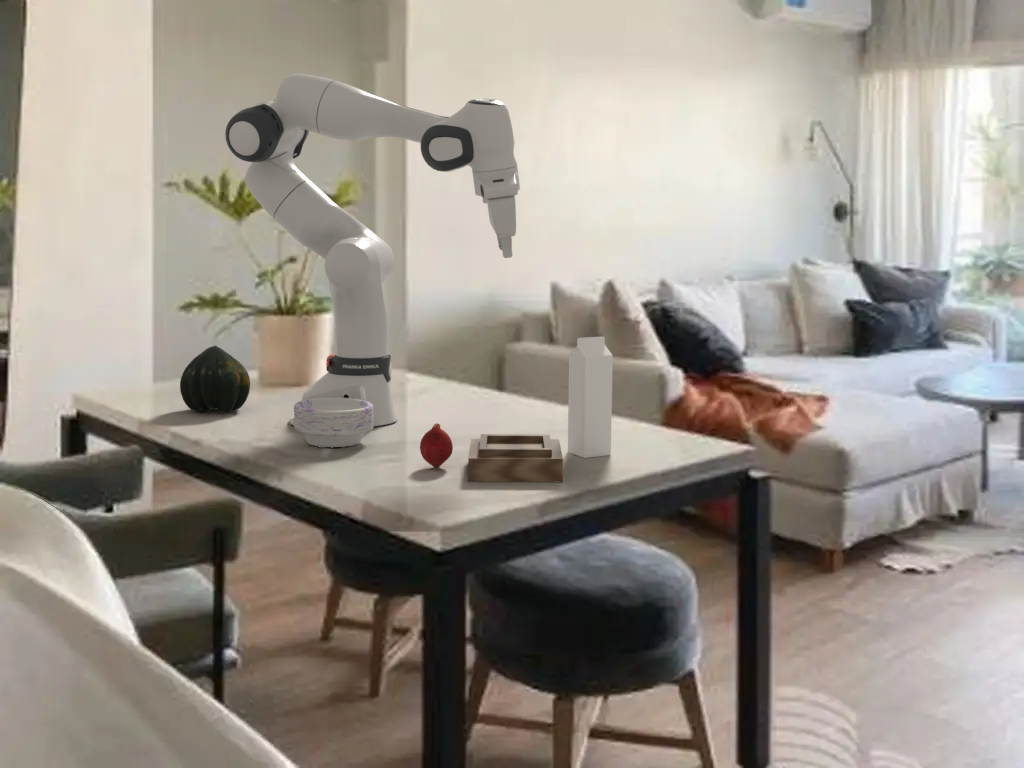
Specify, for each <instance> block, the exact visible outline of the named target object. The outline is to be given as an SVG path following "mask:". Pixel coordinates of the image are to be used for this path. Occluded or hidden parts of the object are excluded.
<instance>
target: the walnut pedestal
mask: <svg viewBox="0 0 1024 768" xmlns="http://www.w3.org/2000/svg"><path fill="white" fill-rule="evenodd" d="M468 451H469V452H468V457H467V461H468V463H467V464H468V465H467V466H468V467H467V468H468V469H467V470H468V471H467V472H468V473H467V475H468V476H467V477H468V479H467V480H468V482H482V483H483V482H488V483H489V482H492V483H493V482H494V483H495V482H500V483H501V482H505V483H506V482H507V483H509V482H510V483H511V482H513V483H515V482H516V483H517V482H519V483H520V482H521V483H523V482H524V483H526V482H527V483H529V482H530V483H531V482H532V483H533V482H534V483H539V482H541V483H549V482H550V483H563V480H564V479H563V478H564V477H563V475H564V472H563V471H564V469H563V468H564V457H563V453H562V447H561V444H560V439H559V438H551V436H550V434H519V433H518V434H515V433H514V434H513V433H512V434H503V433H501V434H496V433H495V434H493V433H492V434H491V433H490V434H486V433H485V434H484V433H483V434H482V433H481V434H480V438H471V439H470V444H469V450H468Z"/></svg>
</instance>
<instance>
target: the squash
mask: <svg viewBox="0 0 1024 768" xmlns="http://www.w3.org/2000/svg"><path fill="white" fill-rule="evenodd" d="M250 379H251V378H250V375H249V373H248V370H247V369H246V367H245V366H244V365H243V364H242V363H241V362H240V361H239V360H237V359H236V358H234V357H233V355H231V354H229V353H228V352H227V351H225V350H224V349H223V348H221V347H219V346H217V345H212V346H209V347H208V348H206V349H205V350H203V351H201V353H199V354H197V356H195V357H194V358H193V359H192V360H191V361H190V362H189V363H188V364H187V366H186V367H185V369H184V371H183V372H182V374H181V377H180V381H179V391H180V394H181V397H182V401H183V402H184V404H185V405H186V407H188V408H189V409H190V410H191V411H193V412H196V413H204V412H205V413H206V412H207V411H209V410H217V412H219V413H220V412H221V413H220V414H223V413H226V414H228V413H229V412H233V411H237V410H240V408H241V407H243V406H244V405H245V403H246V401H247V399H248V398H249V394H250V390H251V380H250Z"/></svg>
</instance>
